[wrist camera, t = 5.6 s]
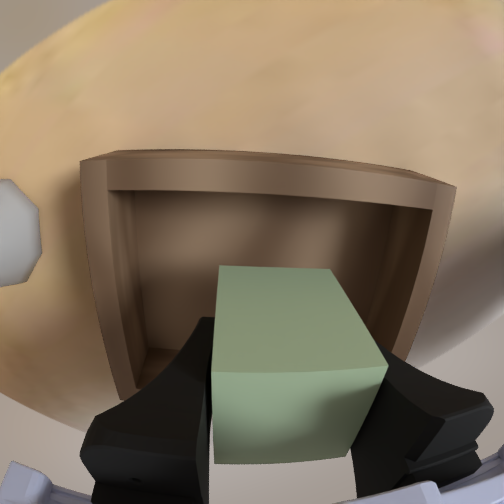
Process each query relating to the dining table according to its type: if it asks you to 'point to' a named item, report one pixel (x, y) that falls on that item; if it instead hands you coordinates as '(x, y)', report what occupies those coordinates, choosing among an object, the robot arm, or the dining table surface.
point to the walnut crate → (250, 241)
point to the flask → (17, 234)
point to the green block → (288, 366)
